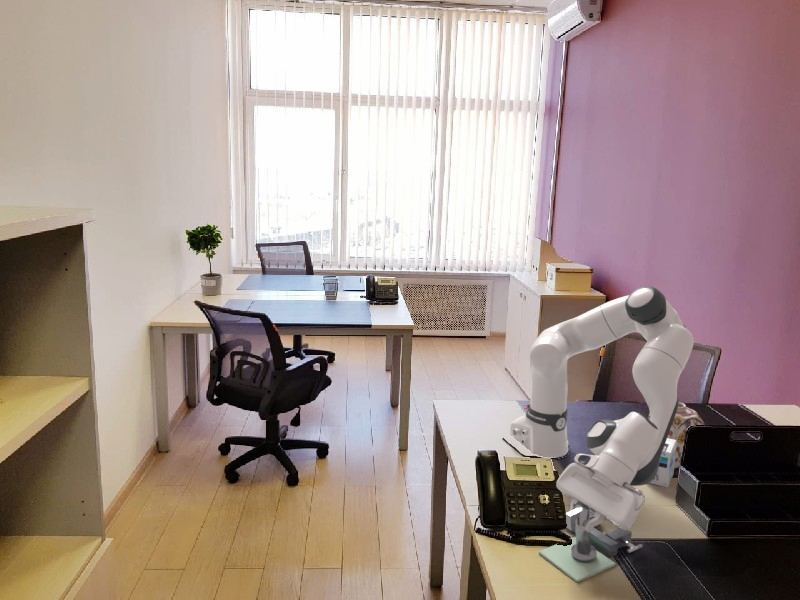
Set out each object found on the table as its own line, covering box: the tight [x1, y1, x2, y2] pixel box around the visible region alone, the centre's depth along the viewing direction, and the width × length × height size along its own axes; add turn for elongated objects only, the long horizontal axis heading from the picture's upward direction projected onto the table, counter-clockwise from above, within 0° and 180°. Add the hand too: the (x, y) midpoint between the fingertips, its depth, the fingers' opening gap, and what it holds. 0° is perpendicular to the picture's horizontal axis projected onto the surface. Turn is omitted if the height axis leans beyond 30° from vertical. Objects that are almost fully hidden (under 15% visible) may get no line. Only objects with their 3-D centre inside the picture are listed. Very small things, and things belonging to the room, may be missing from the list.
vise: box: [566, 509, 644, 558], centre depth 150 cm, size 17×9×3 cm, turn 30°
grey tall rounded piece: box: [565, 504, 598, 563], centre depth 141 cm, size 6×7×12 cm
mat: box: [538, 536, 616, 583], centre depth 142 cm, size 12×12×1 cm
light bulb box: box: [649, 438, 677, 488], centre depth 179 cm, size 11×7×11 cm, turn 148°
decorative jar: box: [647, 401, 705, 470], centre depth 190 cm, size 12×12×18 cm
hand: (577, 524), depth 140 cm, fingers closed on grey tall rounded piece, 3 cm apart
